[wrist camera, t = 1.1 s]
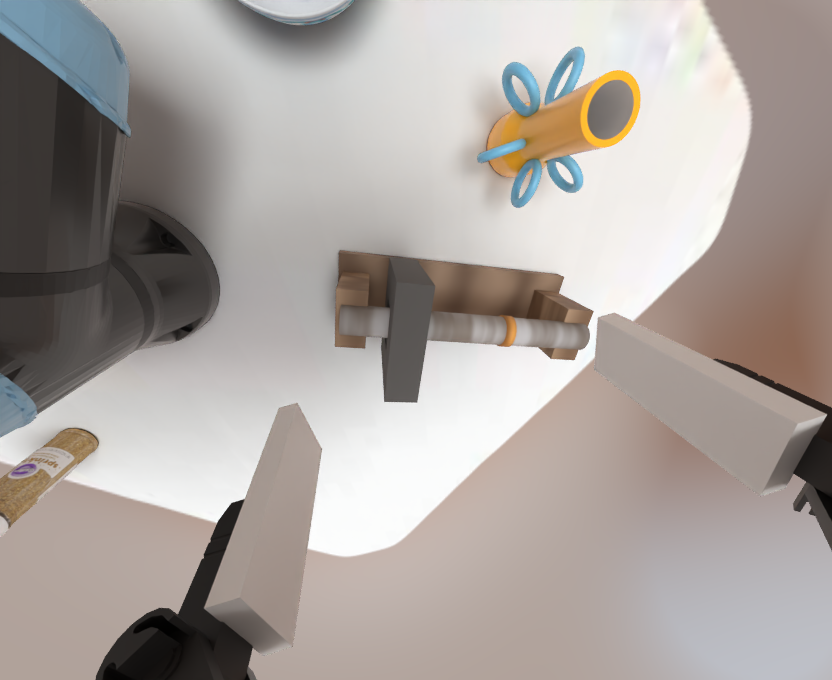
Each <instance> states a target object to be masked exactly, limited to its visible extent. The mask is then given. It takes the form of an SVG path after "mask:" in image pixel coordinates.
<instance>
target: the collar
mask: <svg viewBox="0 0 832 680" xmlns="http://www.w3.org/2000/svg"><path fill="white" fill-rule="evenodd" d="M434 292H435V285H434V283H433V282H432V280H431V279H430V278H429V276H428V275H427V273H426V272H425V271H424V269H423V268H422V266H421V265H420V264H419V262H418V261H417V260H416V259H407V258H398V257H389V267H388V278H387V289H386V300H385V307H388V308H390V317H389V328H388V338H383V337H382V345H381V351H382V368H383V385H384V402H416V403H417V400H418V393H419V387H420V381H421V374H422V368H423V362H424V355H425V349H426V343H427V336H428V330H429V324H430V317H431V311H432V305H433V298H434Z"/></svg>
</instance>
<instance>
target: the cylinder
mask: <svg viewBox="0 0 832 680" xmlns="http://www.w3.org/2000/svg"><path fill="white" fill-rule="evenodd" d="M584 59H585V54H584V50H583V49H582V48H581V47H575V48H573V49H571V50H570V51H569V52H568V53H567V54H566V55H565V56H564V58H563V59H562V60H561V62H560V63H559V65H558V66H557V68H556V70H555V72H554V74H553V76H552V78H551V80H550V83H549V85H548V88H547V91H546V95H545V104H544V103H540V91H539V88H538V85H537V82H536V80H535V78H534V76H533V75H532V73H531V72H530V71H529V70H528V69H527V68H526V67H525V66H524V65H522V64H521V63H518V62H513V63H510V64H508V65H507V66H506V68H505V69H504V72H503V76H502V84H503V89H504V92H505V95H506V97H507V99H508V101H509V103H510V105H511V106H512V107H513V108H514V110H513V111H511V112H509V113H508V114H506V115H505V116H503V117H502V118H501V119H499V120H498V122H497V123H496V124H495V125H494V127H493V128H492V130H491V133H490V135H489V138H488V144H487V151H485V152H483V153H480V154H479V155H478V157H477V160H478V162H479V163H483V162H486V161H489V162H490V164H491V166H492V167H493V169H494V170H495V171H496V172H497V173H499V174H500V175H502V176H505V177H516V179H515V182H514V184H513V187H512V192H511V203H512V205H513V206H514V207H516V208H520V207H522V206H524V205H525V204H526V203H527V202H528V201H529V200H530V199H531V197H532V196H533V194H534V193H535V191H536V189H537V186H538V184H539V181H540V178H541V173H542V169H543V168H544V167H545V166H546V165H547V169H548V172H549V175H550V177H551V178H552V180H553V181H554V183H555V184H556V185H557V186H558V187H559V188H560V189H562V190H564V191H566V192H568V193H575V192H577V191H579V190H580V189H581V187H582V185H583V175H582V172H581V169H580V167H579V166H578V164H577V163H576V161H575V160H574V159H573V158H572V157H570V156H569V155H572V154H577V153H582V152H586V151H591V150H596V149H600V148H605V147H609V146H612V145H614V144H616V143H618V142H619V141H621V140H622V139H623V138H624V137H625V136H626V135H627V134H628V132H629V131H630V130H631V128H632V127H633V125H634V123H635V121H636V118H637V116H638V112H639V108H640V90H639V87H638V84H637V82H636V80H635V79H634V77H633V76H632V75H631V74H629V73H627V72H625V71H620V70H617V71H611V72H609V73H606V74H605V75H603V76H601V77H599V78H597V79H595V80H593V81H591V82H589V83H588V84H586V85H584V86H582V87H580V88H578V89H576V90H574V91H573V89H574V87H575V85H576V83H577V81H578V79H579V77H580V74H581V71H582V68H583V65H584ZM573 61H574V62H573ZM572 62H573V67H572V70H571V73H570V75H569V78H568V80H567V82H566V84H565V86H564V87H563V89H562V91H561V92H560V93H559V95H558V96H557V97H556V98H555V99H554V95H555V91H556V88H557V86H558V83H559V81H560V79H561V77H562V75H563V74H564V72H565V70H566V69H567V67H568V66H569V65H570V64H571V63H572ZM512 75H514V76H516V77H518V78H519V79H520V80H521V81H522V82H523V84H524V85H525V87H526V89H527V91H528V94H529V97H530V102H529V103H525V104H524V103H523V102H522V101H521V100H520V99H519V98H518V96H517V94H516V93H515V90H514V88H513V85H512ZM556 161H557V162H560V163H562V164H563V165H564V166H565V167H566V168H567V169H568V170H569V171H570V173H571V175H572V177H573V181H574V184H571V183H568V182H567V181H566V180H564V179H563V178H562V176H561V175H560V174H559V172H558V170H557V168H556ZM530 174H532V177H531V180H530V183H529V185H528V188H527V189H526V191H525V193H524V194H523V196H522V197H521V198H520V199H519V192H520V188H521V185H522V182H523V180H524V178H525V177H526V175H530Z"/></svg>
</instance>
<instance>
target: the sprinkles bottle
mask: <svg viewBox="0 0 832 680" xmlns="http://www.w3.org/2000/svg"><path fill="white" fill-rule="evenodd" d="M97 445H98V442H97V440H96V438H94V436H92V435H91V434H90V433H88V432H86V431H83V430H79V429H67V430H64V431H62V432H60V433H59V434H58V435H57V436H56V437H55V438H54V439H52V440H51V441H50V442H48V443H47V444H46V445H44V446H43V447H42V448H40V449H38V450H37V451H35V452H34V453H33V454H31V455H30V456H29V457H27V458H26V459H25V460H23V461H22V462H21V463H19V464H18V465H17V466H15V467H14V468H13V469H12V470H11V471H10V472H8V473H7V474H6V475H4V476H3V477H2V478H1V479H0V537H1V536H3V535H4V534H5V533H6V532H7V530H8V529H9V528H10V527H11V525H12V524H13V523H14V522H15V521H16V520H17V519H19V518H20V516H22V515H23V514H24V513H25V512H26V511H28V510H29V509H30V508H31V507H32V506H33V505H35V504H36V503H37V502H38V501H40V500H41V499H42V498H43V497H44V496H45V495H46V494H47V493H48V492H49V491H51V490H52V489H53V488H54V487H55V486H56V485H57V484H58V483H59V482H60V481H62V480H63V479H64V478H65V477H66V476H67V475H68V474H69V473H70V472H71V471H73V470H74V469H75V468H76V467H77V465H78V464H79V463H80V462H81V461H83V460H84V459H85V458H86V457H87V456H88V455H89V454H91V453H92V452H94V451H95V450H96V448H97Z"/></svg>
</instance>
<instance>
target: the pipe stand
mask: <svg viewBox="0 0 832 680" xmlns="http://www.w3.org/2000/svg"><path fill="white" fill-rule="evenodd" d="M389 257H395V256H386V255H377V254H368V253H359V252H350V251H341V250H340V252H339V276H338V285H337V287H336V313H335V347H349V348H365V341H366V336H367V337H383V338H388V328H389V317H390V308H388V307H385V300H386V289H387V278H388V267H389ZM398 258H404V257H398ZM407 259H414V258H407ZM416 260H417V261H418V262H419V264H420V265H421V266H422V268H423V269H424V271H425V272H426V273H427V275H428V276H429V278H430V279H431V280H432V282H433V283H434V285H435V292H434V298H433V305H432V311H431V317H430V324H429V330H428V336H427V340H431V341H447V342H463V343H479V344H495V345H497V346H504V347H509V346H527V347H539V348H540V349H541V350H542V351H543V352H544V353H545V354H546V355H547V356H548V357H550V358H551V359H564V360H575V357H576V355H577V352H578V350H581V349H583V348H585V347H586V345H587V344H588V342H589V338H590V333H589V329H588V324H589V322H590V319H591V317H592V314H593V312H594V311H592V310H590V309H588V308H586V307H584V306H582V305H580V304H578V303H576V302H574V301H573V300H571V299H569V298H567V297H565V296H563V295H561V294H559V291H560V288H561V285H562V282H563V279H564V277H563V276H561V275H558V274H551V273H541V272H532V271H523V270H514V269H505V268H496V267H487V266H478V265H468V264H459V263H450V262H441V261H432V260H423V259H416Z"/></svg>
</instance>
